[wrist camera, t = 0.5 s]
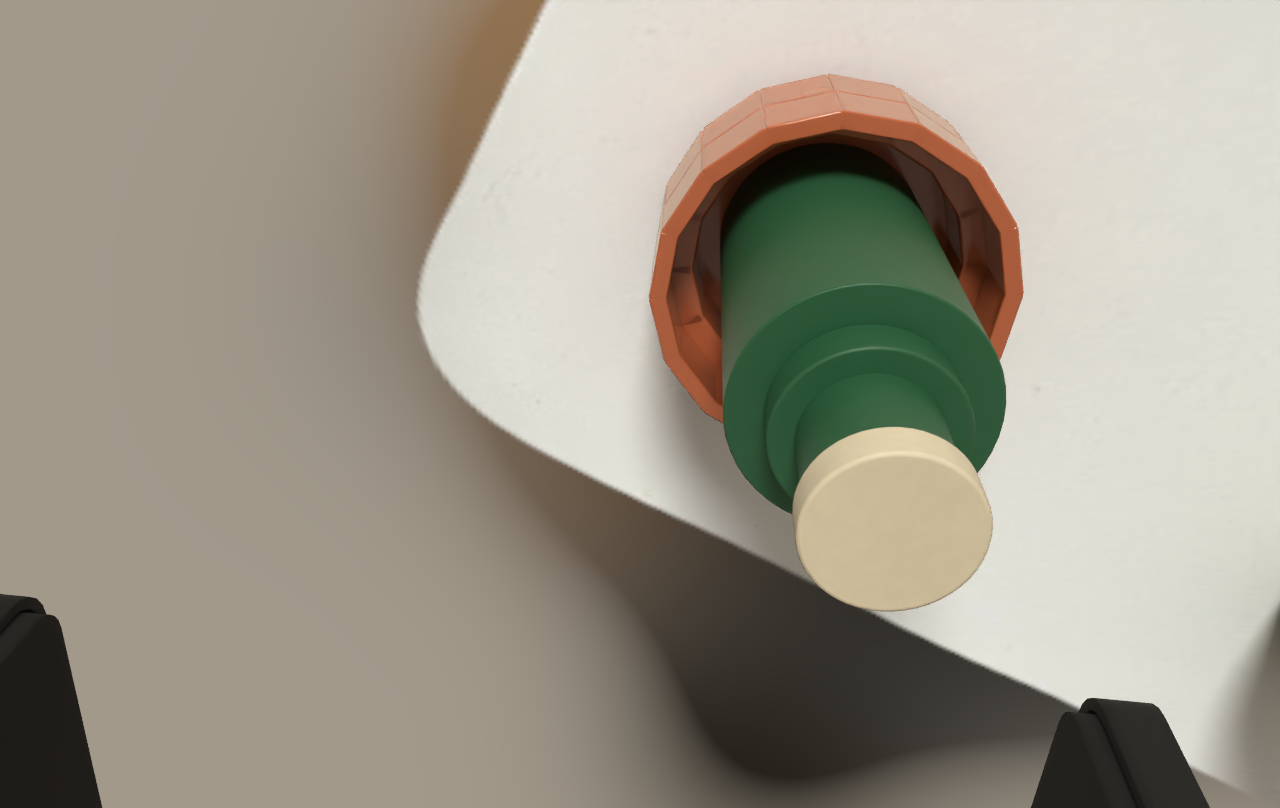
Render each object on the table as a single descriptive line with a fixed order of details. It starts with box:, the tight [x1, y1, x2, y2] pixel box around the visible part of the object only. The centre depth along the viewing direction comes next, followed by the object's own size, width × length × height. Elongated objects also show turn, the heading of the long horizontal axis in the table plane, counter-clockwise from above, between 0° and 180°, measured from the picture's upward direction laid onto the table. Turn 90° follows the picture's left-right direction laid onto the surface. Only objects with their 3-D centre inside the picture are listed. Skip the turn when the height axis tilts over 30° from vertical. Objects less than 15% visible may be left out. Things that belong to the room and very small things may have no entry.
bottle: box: [720, 143, 1006, 611], centre depth 27 cm, size 6×6×16 cm
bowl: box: [649, 74, 1024, 424], centre depth 32 cm, size 10×10×5 cm
